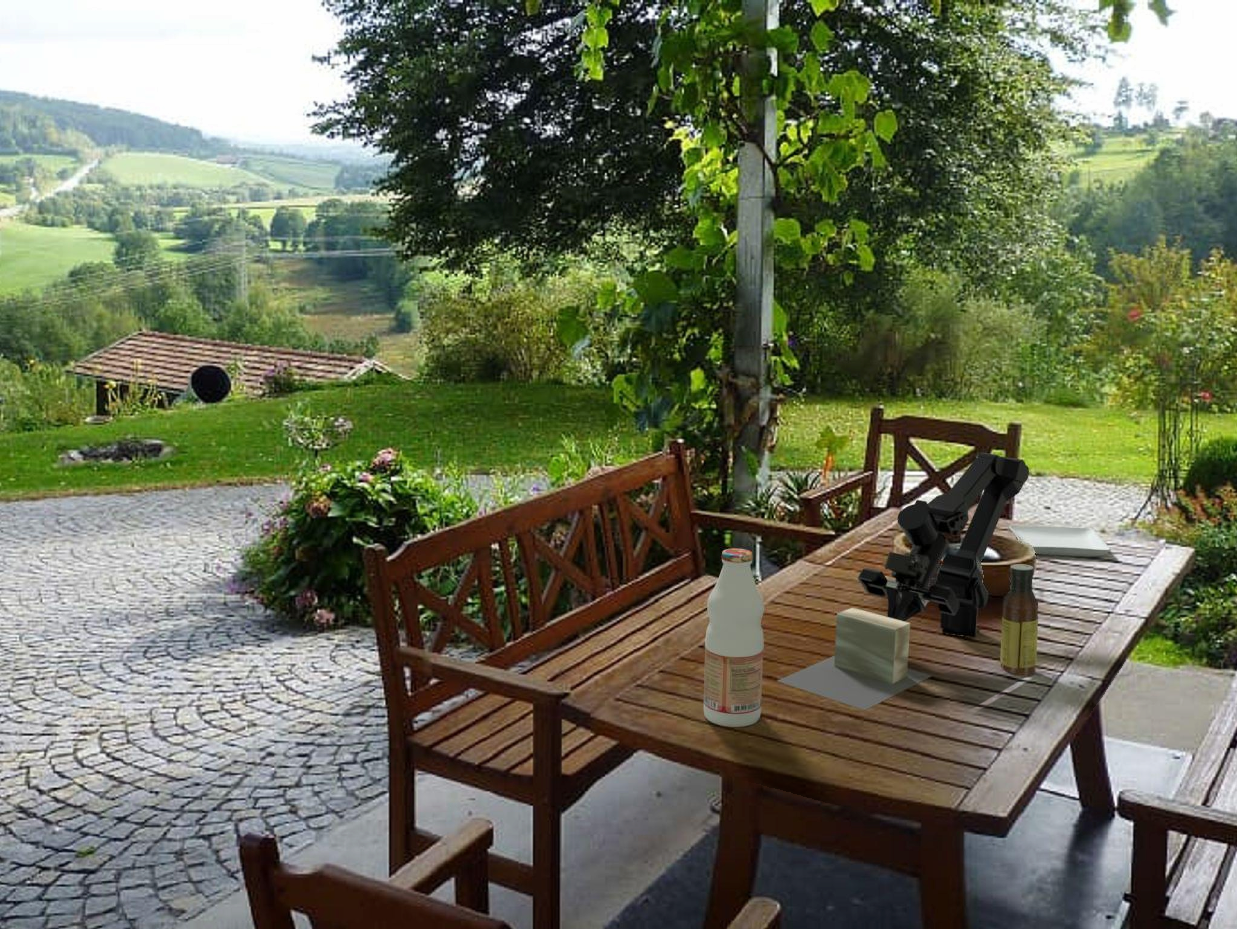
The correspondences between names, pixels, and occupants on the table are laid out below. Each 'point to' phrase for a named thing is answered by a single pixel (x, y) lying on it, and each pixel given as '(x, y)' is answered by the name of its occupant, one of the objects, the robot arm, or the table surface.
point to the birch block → (872, 645)
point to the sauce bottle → (1019, 623)
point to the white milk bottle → (734, 645)
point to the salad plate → (1061, 540)
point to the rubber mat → (849, 684)
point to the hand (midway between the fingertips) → (888, 629)
